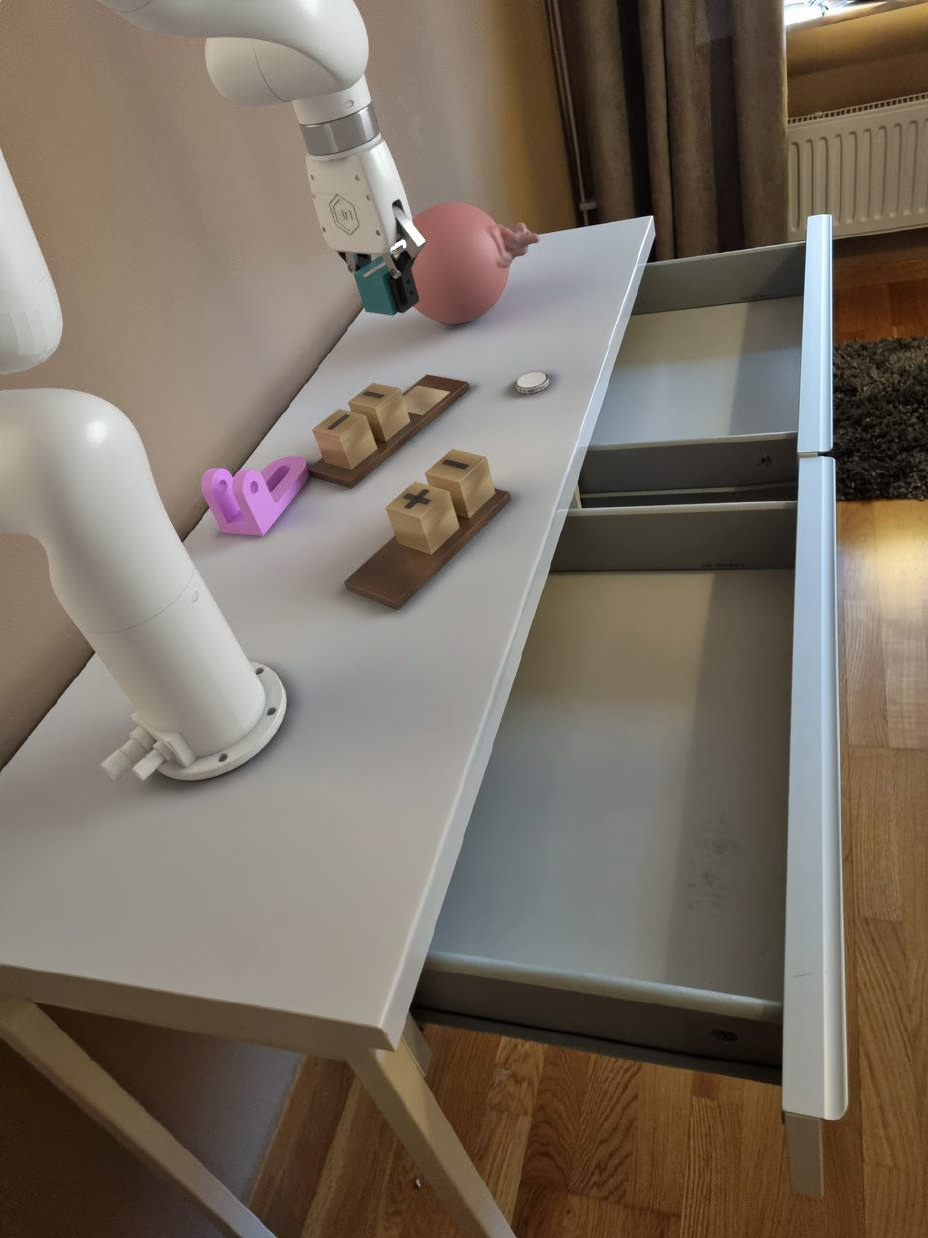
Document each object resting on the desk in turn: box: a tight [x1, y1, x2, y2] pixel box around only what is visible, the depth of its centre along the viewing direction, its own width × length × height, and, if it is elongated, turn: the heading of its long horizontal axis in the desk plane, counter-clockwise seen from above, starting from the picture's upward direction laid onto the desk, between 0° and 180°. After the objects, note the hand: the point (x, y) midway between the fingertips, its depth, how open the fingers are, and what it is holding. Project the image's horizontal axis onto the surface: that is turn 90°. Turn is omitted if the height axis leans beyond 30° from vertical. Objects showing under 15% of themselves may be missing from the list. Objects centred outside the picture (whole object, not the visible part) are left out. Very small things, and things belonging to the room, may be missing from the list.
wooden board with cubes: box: [343, 448, 512, 611], centre depth 86 cm, size 18×7×6 cm, turn 141°
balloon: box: [395, 201, 541, 325], centre depth 119 cm, size 15×20×15 cm
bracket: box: [200, 455, 311, 537], centre depth 99 cm, size 13×6×7 cm, turn 158°
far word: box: [308, 374, 471, 489], centre depth 105 cm, size 22×7×6 cm, turn 141°
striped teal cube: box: [353, 254, 399, 317], centre depth 99 cm, size 5×4×5 cm
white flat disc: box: [514, 371, 550, 394], centre depth 107 cm, size 4×4×1 cm
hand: (391, 303), depth 100 cm, fingers closed on striped teal cube, 4 cm apart
